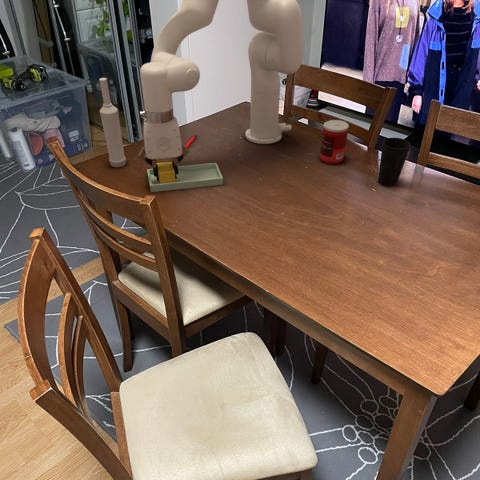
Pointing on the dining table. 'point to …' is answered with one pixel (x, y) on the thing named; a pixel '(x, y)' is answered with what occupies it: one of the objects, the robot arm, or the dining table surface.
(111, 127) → the bottle
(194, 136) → the pen
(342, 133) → the canned food
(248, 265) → the dining table surface
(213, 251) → the dining table surface
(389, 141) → the cup
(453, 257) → the dining table surface
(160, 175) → the sponge
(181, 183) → the tray
